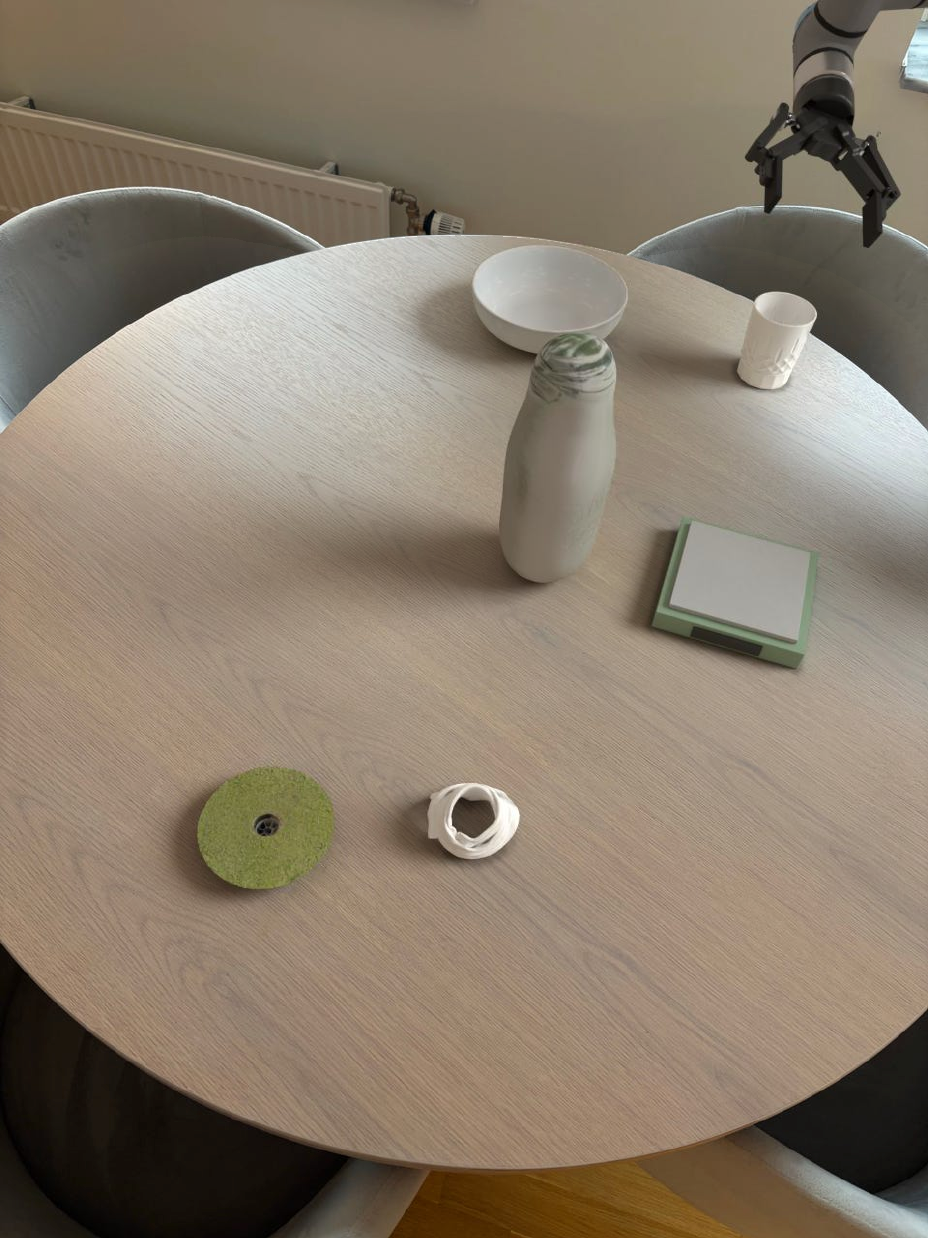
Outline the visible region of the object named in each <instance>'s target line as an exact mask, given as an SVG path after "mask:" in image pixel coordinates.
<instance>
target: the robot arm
mask: <svg viewBox="0 0 928 1238" xmlns="http://www.w3.org/2000/svg"><path fill="white" fill-rule="evenodd" d="M914 9H928V0H815V1H814V2H813V3H811V4H810V5H809V6H807V7H806V8H805V10H803V11H801V12H802V13H800V16H799V17H798V19H797V21H796V24H795V27H794V34H793V37H792V38H793V39H792V46H791V48H792V49H791V50H792V74H793V75H792V76H793V77H792V80H793V81H792V111H791V112H790V105H789V104H788V103H786V102H781V103H780V104H779V106H778V107H777V108H776V111H774V112H773V115H772V116H771V118H770V119H769V124H768V125H767V126H766V127H765V128H764V129H763V131H762V132H761V133H760V134H759V135H758V137H756V138H755V139H754V141H753V143H752V145H751V146H750V147H749V149H748V150H747V152H746V154H745V155H744V159H745V161H746V162H748V163H752V162H753V163H756V164H757V165H756V166H755V168H754V170H753V171H754V173H755V174H756V175H757V176H758V178H759V179H758V183H759V185H760V187H761V186H762V187H764V193H763V195H764V197H763V198H764V199H763V213H765V214H768V215H770V214H771V213H772V212H773V210H774V209H775V208H776V206H777V205H778V204H779V202H780V201H781V199H782V198H783V170H784V169H783V165H784V164H783V163H784V160H786V159H788V158H789V157H791V156H796V155H798V154H800V153H802V152H803V151H805V152H806V153H807V156H808V155H809V156H811V157H815V158H816V157H817V158H819V159H821V160H822V161H825V162H828V163H829V164H830V165H831V167H833V168H834V170H835V171H836V172H841V173H842V174H843V176H844V177H845V178H846V180H847V181H848V182H849V184H850V185H851V186H852V187H853V189H854V190H855V191H856V193H857V195H859V197H860V198H861V199H862V201H863V202H864V203H865V204H864V205H863V206H862V208H861V215H862V216H861V217H862V247H863V248H866V249H869V248H870V247H871V246H872V245H873V244H874V243H875V242H876V241H877V240H878V239H879V238H880V236H882V235H883V232H884V231H883V230H884V229H883V226H884V225H883V221H885V220H886V218H887V215H888V214H887V211H889V209H890V208H891V207H892V206H893V205H894V203H895V202H897V200H898V199H899V198H900V197H901V195H902V193H901V191H900V189H899V186H897V183H896V181H895V179H894V178H893V175H892V174H891V172H890V170H889V168H888V166H887V164H886V162H885V160H884V159H883V157H882V155H881V153H880V151H879V149H878V143H877V138H876V137H875V136H874V135H872V134H869V135H867V137H866V139H865V138H864V139H863V138H859V137H857V136H856V132H855V131H854V129H853V126H854V121H855V116H856V107H855V105H856V104H855V103H856V101H855V99H856V98H855V91H856V86H855V54H856V52H857V49H858V47H859V46H860V44H861V42H862V40H863V39H864V38H865V36H866V34H867V33H868V31H869V29H870V28H871V26H872V24H873V23H874V21H875V19H876V18H877V16H878V14H879V13H880V12H884V11H885V12H887V11H900V10H901V11H902V10H914ZM787 127H790V130H791V132H792V134H791V135H790V136H788V137H787V138H785V139H783V140H781V141H780V142H778V143H776V144H773V145H772V146H771V147H768V148H767V146H768V145H769V144H770V142H771V141H772V140H773V139H774V138H775V136H776V135H777V133H778V132H781V131H782V130H783V129H786V128H787ZM842 156H843V157H842ZM840 157H842V158H841V159H840Z"/></svg>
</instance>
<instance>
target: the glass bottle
mask: <svg viewBox="0 0 928 1238" xmlns="http://www.w3.org/2000/svg"><path fill="white" fill-rule="evenodd" d="M530 369H531V370H530V375H529V381H528V385H527V389H526V393H525V396H524V399H523V402H522V404H521V406H520V408H519V411H518V413H517V416H516V418H515V421H514V424H513V426H512V429H511V432H510V434H509V438H508V441H507V444H506V445H507V446H506V450H505V456H504V463H503V464H504V467H503V475H502V477H503V478H502V491H501V503H500V511H499V519H498V522H499V523H498V537H499V542H500V546H501V550H502V553H503V556H504V558H505V560H506V562H507V564H508V566H509V567H510V568H511V569H512V570H513V571H515V573H517V575H518V576H520V577H521V578H524V579H526V580H528V581H531V582H534V583H541V584H546V583H553V582H558V581H560V580H564V579H567V578H568V577H570V576H572V575H574V574H575V573H576V572H577V571H578V570H579V569H580V568H581V567H582V566H583V565H585V563H586V561H587V560H588V559H589V557H590V555H591V553H592V551H593V550H594V547H595V544H596V541H597V538H598V535H599V530H600V527H601V522H602V518H603V514H604V511H605V506H606V502H607V498H608V496H609V492H610V487H611V484H612V480H613V474H614V471H615V466H616V458H617V457H616V456H617V439H616V438H617V437H616V429H615V423H614V403H615V402H614V394H615V389H616V383H617V366H616V361H615V359H614V356H613V353H612V349H611V348H610V346H609V345H608V344H607V342H606V341H605V340H604V339H603V340H602V338H600V337H597V336H595V335H592V334H590V333H584V332H574V333H567V334H564V335H560V336H558V337H555V338H554V339H552V340H550V341H549V342H548V343H546V344H545V345H544V346H543V347H542V349H541V350H540V351H539V353H538V354H537V355H535V358H534V360H533V363H532V366H531V368H530Z"/></svg>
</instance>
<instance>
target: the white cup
mask: <svg viewBox="0 0 928 1238" xmlns="http://www.w3.org/2000/svg"><path fill="white" fill-rule="evenodd" d="M750 312H751V313H750V316H749V319H748V323H747V327H746V330H745V334H744V337H743V343H742V346H741V350H740V352H741V353H740V357H739V361H738V365H737V370H736V372H737V374H738V376H739V378H740V379H741V380H742V381H743V382H745V383H746V384H747V385H749V386H752V387H754V388H757V389H762V390H774V389H775V390H776V389H779V388H782V387H783V386H784V385H786V384H787V382H788V380H789V377H790V375H791V373H792V371H793V368H794V366H795V365H796V364H797V362H798V360H799V357H800V354H801V353H802V351H803V349H804V346H805V344H806V342H807V340H808V338H809V336H810V333H811V330H812V328H813V326H814V324H815V321H816V319H817V315H818V313H817V310H816V308H815V307H814V305H813V304H812V303H811V302H809V301H808V300H807V299H805V298H803V297H802V296H799V295H797V294H794V293H790V292H785V291H784V292H783V291H769V292H764V293H761V294H759V295H758V296H757V297H756V298H755V299H754V301H753V305H752V309H751V311H750Z"/></svg>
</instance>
